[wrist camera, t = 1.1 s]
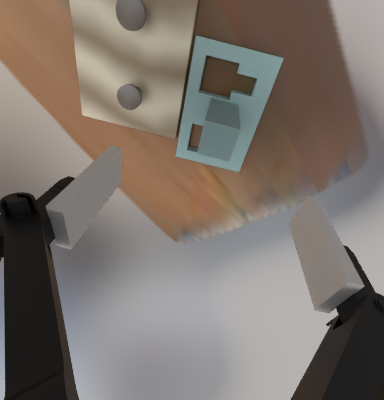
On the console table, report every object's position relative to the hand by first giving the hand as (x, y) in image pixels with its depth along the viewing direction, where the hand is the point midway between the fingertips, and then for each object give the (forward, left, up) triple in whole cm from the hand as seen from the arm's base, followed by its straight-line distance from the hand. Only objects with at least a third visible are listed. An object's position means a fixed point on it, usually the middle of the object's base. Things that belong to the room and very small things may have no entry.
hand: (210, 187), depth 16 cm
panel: (0, 0, -18) cm, 18 cm away
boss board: (-4, -12, -18) cm, 23 cm away
